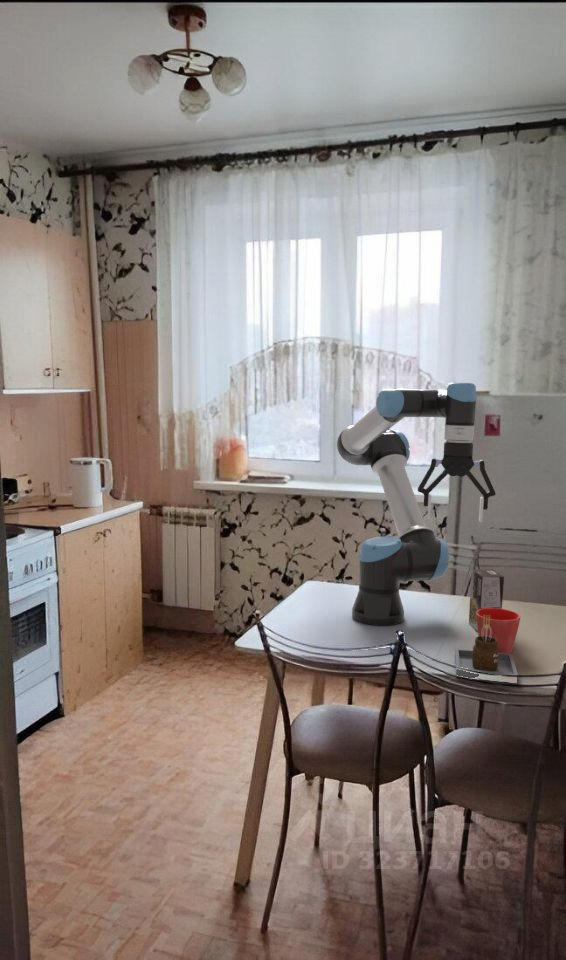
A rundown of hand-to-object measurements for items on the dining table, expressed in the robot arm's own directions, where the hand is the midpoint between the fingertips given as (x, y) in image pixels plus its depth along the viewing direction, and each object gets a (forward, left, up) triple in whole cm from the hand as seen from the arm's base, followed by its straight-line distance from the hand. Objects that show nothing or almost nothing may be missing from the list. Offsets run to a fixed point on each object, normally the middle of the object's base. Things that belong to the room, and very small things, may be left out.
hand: (454, 520), depth 188 cm
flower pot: (+12, -10, -32) cm, 35 cm away
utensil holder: (+8, -24, -31) cm, 40 cm away
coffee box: (+10, +7, -32) cm, 34 cm away
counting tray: (+8, -24, -32) cm, 40 cm away
